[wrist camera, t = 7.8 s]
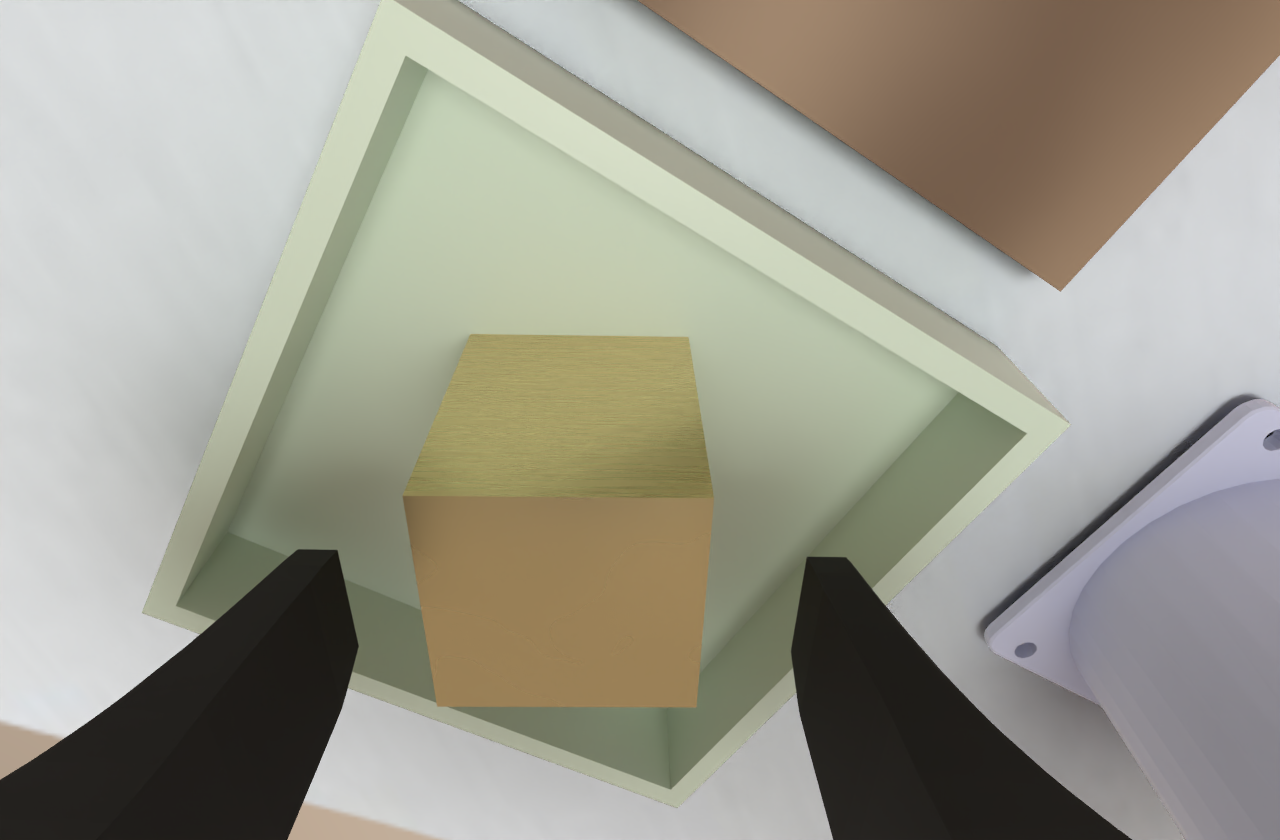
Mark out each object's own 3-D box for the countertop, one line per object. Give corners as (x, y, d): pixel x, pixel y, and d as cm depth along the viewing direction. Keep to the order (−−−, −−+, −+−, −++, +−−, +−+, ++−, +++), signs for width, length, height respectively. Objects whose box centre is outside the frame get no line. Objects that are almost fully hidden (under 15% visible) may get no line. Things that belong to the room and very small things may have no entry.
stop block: (688, 336, 14) (713, 498, 10) (678, 511, 16) (696, 707, 12) (470, 334, 14) (402, 495, 10) (487, 509, 16) (437, 706, 12)
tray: (997, 346, 15) (1071, 424, 13) (671, 701, 21) (677, 808, 18) (435, -14, 12) (383, -7, 10) (214, 514, 17) (142, 613, 15)
